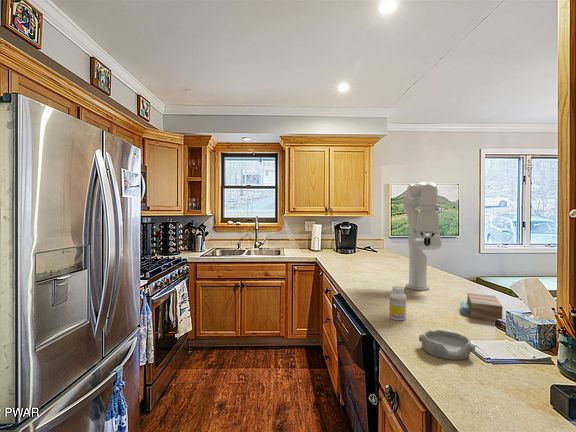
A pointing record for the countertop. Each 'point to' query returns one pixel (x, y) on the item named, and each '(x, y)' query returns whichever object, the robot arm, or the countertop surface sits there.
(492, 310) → the shelf dock
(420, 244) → the robot arm
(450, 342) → the dish
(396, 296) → the supplement bottle
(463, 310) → the pale blue foam block
